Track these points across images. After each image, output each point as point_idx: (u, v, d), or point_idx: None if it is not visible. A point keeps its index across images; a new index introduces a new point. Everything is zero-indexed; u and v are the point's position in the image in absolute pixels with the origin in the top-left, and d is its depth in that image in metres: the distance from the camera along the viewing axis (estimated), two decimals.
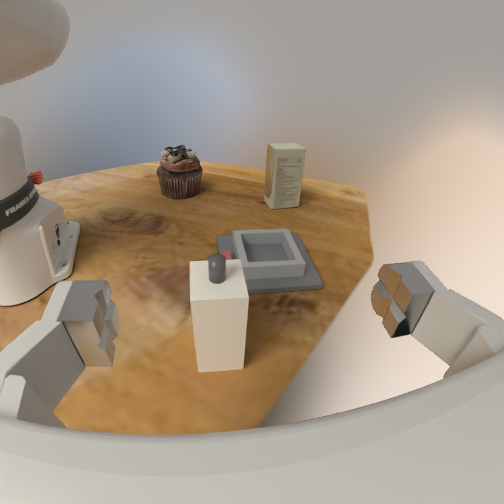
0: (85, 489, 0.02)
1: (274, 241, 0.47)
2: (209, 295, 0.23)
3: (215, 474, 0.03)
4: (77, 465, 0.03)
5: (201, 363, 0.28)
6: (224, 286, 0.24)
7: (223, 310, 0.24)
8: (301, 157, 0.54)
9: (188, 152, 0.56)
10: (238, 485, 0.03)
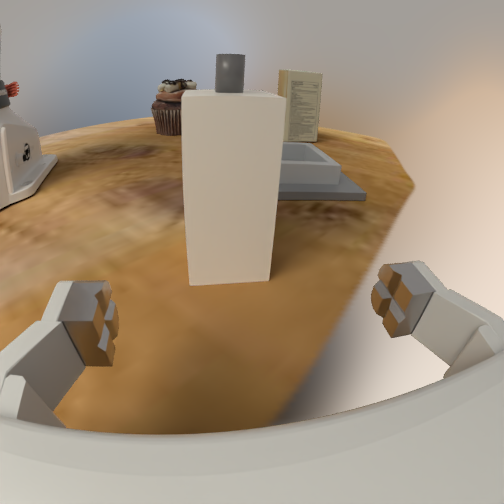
0: (85, 489, 0.02)
1: (294, 156, 0.35)
2: (215, 94, 0.12)
3: (215, 474, 0.03)
4: (76, 465, 0.03)
5: (195, 263, 0.16)
6: (242, 93, 0.13)
7: (240, 123, 0.12)
8: (318, 83, 0.43)
9: (188, 82, 0.45)
10: (238, 485, 0.03)
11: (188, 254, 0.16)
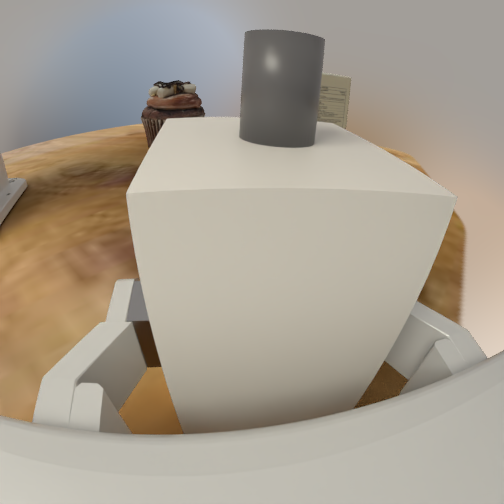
0: (85, 489, 0.02)
1: None
2: (255, 173, 0.04)
3: (215, 474, 0.03)
4: (77, 466, 0.03)
5: None
6: (323, 154, 0.05)
7: (331, 273, 0.04)
8: (345, 89, 0.34)
9: (186, 85, 0.37)
10: (238, 485, 0.03)
11: None
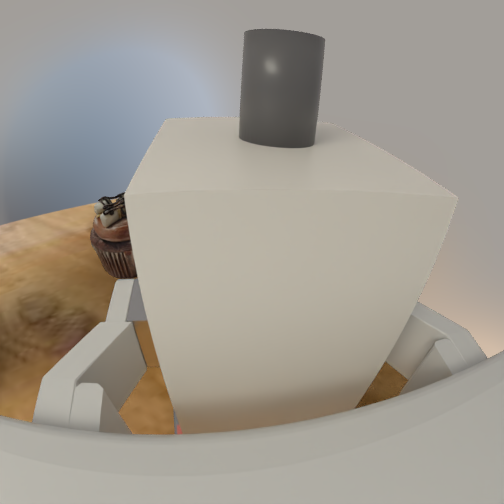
0: (85, 489, 0.02)
1: None
2: (254, 174, 0.04)
3: (215, 474, 0.03)
4: (77, 465, 0.03)
5: None
6: (324, 155, 0.05)
7: (332, 274, 0.04)
8: None
9: None
10: (238, 485, 0.03)
11: None
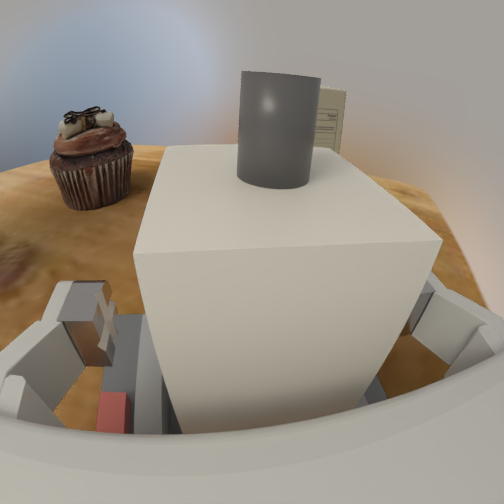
0: (85, 489, 0.02)
1: None
2: (250, 229, 0.04)
3: (215, 474, 0.03)
4: (77, 465, 0.03)
5: None
6: (316, 197, 0.05)
7: (321, 313, 0.05)
8: (337, 110, 0.22)
9: (99, 115, 0.24)
10: (238, 485, 0.03)
11: None
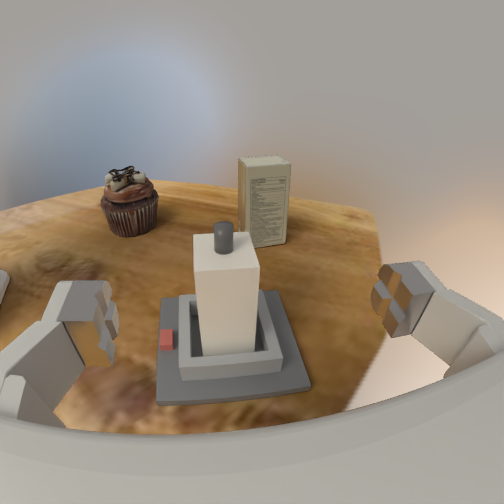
0: (85, 489, 0.02)
1: None
2: (215, 266, 0.21)
3: (215, 474, 0.03)
4: (77, 465, 0.03)
5: (207, 350, 0.25)
6: (232, 257, 0.22)
7: (231, 283, 0.21)
8: (285, 176, 0.39)
9: (135, 175, 0.42)
10: (238, 485, 0.03)
11: (202, 346, 0.25)
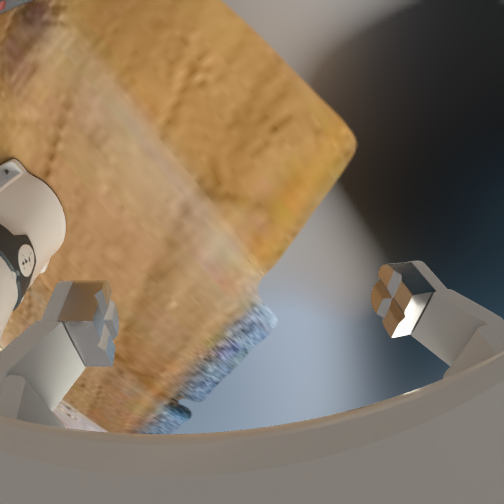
0: (85, 489, 0.02)
1: None
2: None
3: (215, 474, 0.03)
4: (77, 465, 0.03)
5: None
6: None
7: None
8: None
9: None
10: (238, 485, 0.03)
11: None
